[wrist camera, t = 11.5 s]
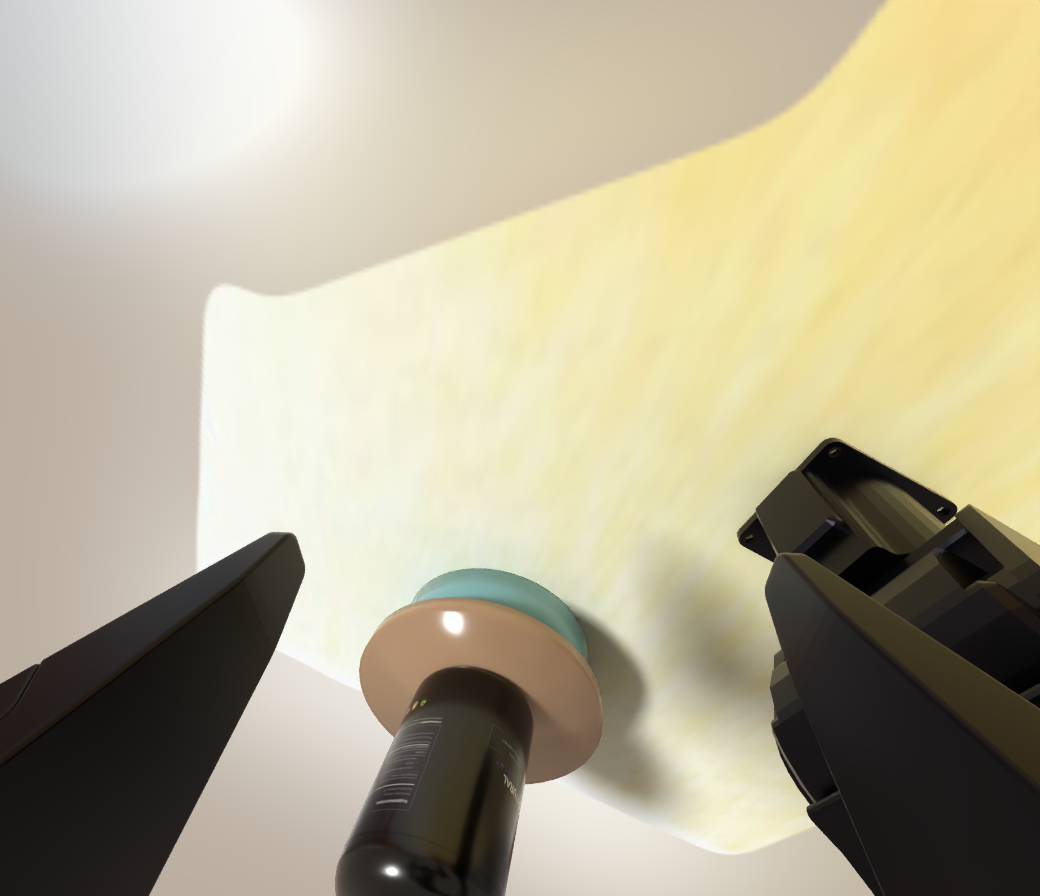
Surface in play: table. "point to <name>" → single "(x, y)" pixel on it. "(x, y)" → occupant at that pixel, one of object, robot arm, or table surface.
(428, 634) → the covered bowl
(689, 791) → the table surface
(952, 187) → the table surface
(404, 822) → the supplement bottle
